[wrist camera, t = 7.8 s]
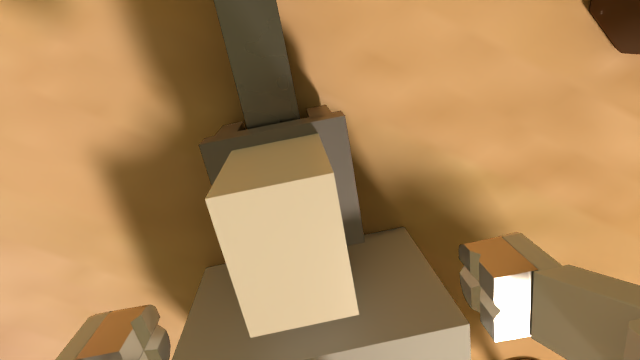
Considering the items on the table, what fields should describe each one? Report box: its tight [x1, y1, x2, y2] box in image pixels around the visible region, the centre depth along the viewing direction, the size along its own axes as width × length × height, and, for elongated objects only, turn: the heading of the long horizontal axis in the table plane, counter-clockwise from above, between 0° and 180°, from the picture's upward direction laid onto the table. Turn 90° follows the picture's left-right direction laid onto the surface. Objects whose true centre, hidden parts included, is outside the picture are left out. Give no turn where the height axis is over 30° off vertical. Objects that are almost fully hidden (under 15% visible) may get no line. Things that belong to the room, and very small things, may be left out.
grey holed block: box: [172, 227, 471, 360], centre depth 18 cm, size 12×8×8 cm, turn 100°
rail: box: [214, 0, 300, 129], centre depth 16 cm, size 2×19×2 cm, turn 11°
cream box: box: [199, 105, 365, 338], centre depth 14 cm, size 6×6×9 cm
